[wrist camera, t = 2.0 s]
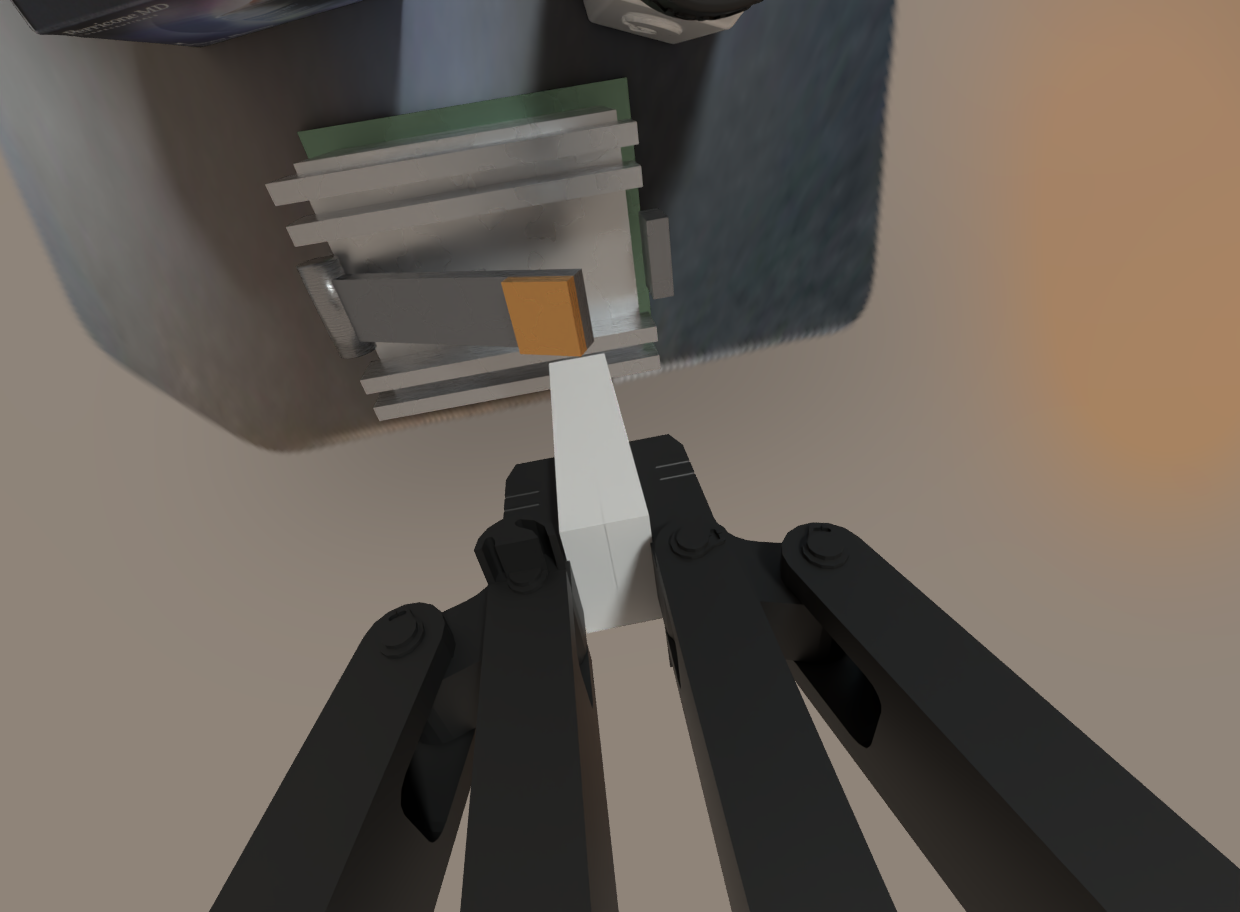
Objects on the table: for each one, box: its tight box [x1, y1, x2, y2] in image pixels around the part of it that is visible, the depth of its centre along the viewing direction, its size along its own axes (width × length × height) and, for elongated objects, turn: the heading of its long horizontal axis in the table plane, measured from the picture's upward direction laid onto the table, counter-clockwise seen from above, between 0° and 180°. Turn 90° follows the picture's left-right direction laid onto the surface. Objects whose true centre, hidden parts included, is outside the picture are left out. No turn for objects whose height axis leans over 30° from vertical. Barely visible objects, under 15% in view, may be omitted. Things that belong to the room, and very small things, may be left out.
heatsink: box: [265, 77, 674, 421], centre depth 28 cm, size 14×17×9 cm
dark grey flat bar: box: [296, 256, 594, 359], centre depth 23 cm, size 14×4×2 cm, turn 97°
